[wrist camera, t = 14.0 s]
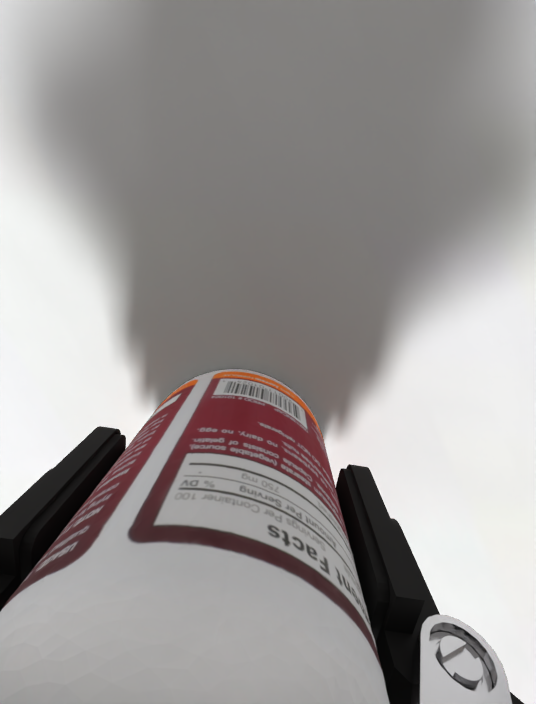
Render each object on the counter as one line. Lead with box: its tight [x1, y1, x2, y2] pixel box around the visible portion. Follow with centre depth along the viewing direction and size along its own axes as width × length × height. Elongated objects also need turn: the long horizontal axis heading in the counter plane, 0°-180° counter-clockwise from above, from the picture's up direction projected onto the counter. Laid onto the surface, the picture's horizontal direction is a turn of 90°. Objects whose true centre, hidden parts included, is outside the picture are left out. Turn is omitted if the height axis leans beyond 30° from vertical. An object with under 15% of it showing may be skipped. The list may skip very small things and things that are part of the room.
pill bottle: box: [0, 369, 390, 704], centre depth 7 cm, size 6×6×11 cm
